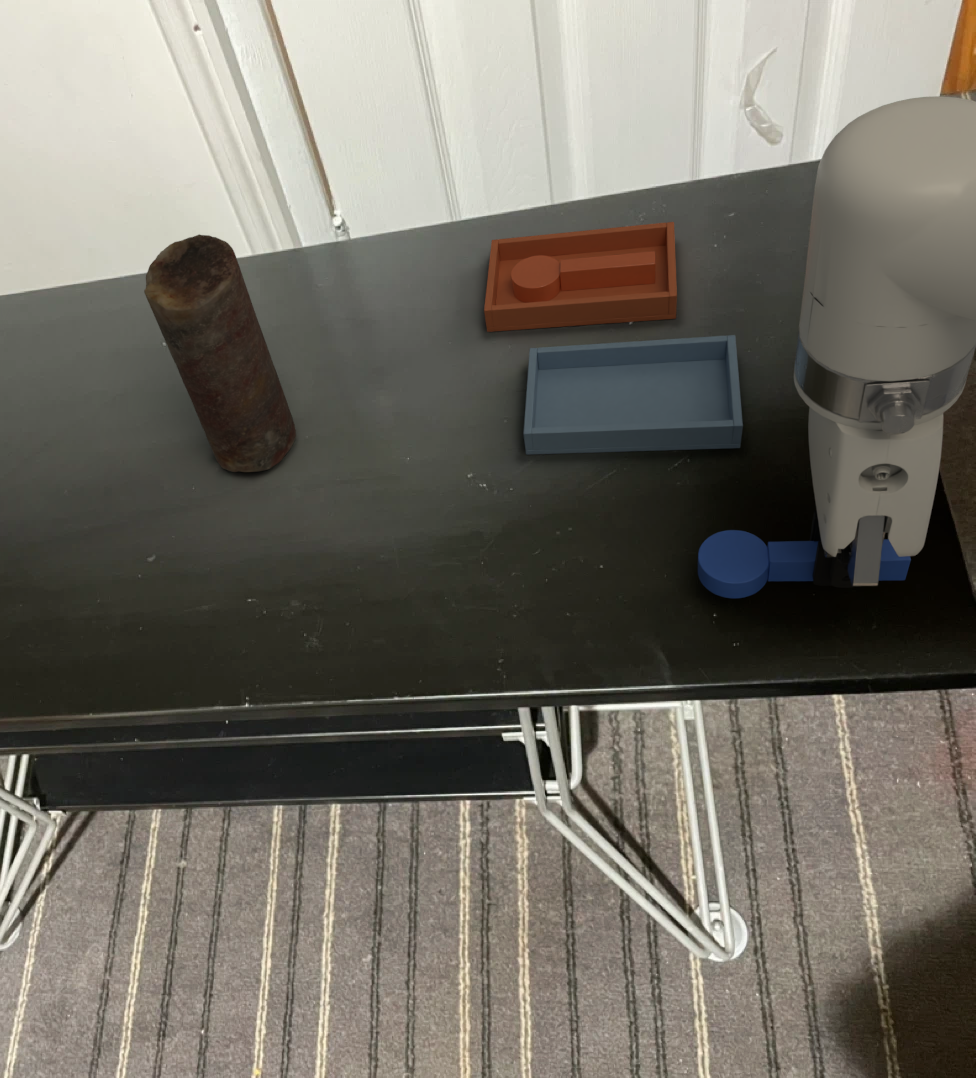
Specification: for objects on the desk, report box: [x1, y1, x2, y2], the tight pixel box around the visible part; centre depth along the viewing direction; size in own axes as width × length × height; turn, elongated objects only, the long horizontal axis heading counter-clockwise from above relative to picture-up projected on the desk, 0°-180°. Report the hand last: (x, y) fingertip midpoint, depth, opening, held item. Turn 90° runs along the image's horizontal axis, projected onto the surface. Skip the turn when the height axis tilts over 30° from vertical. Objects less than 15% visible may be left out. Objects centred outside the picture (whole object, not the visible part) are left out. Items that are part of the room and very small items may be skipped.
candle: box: [143, 233, 297, 473], centre depth 82 cm, size 8×7×20 cm
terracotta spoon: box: [511, 251, 656, 303], centre depth 88 cm, size 12×4×2 cm, turn 78°
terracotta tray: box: [483, 221, 678, 333], centre depth 89 cm, size 15×9×2 cm, turn 78°
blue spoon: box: [697, 529, 912, 599], centre depth 65 cm, size 12×4×2 cm, turn 79°
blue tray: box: [523, 334, 744, 456], centre depth 80 cm, size 15×9×2 cm, turn 78°
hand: (839, 565), depth 65 cm, fingers closed on blue spoon, 1 cm apart
